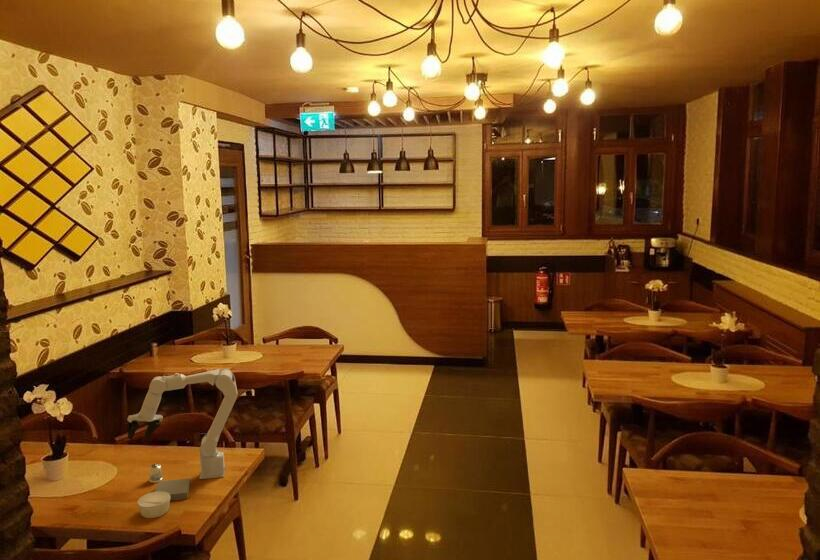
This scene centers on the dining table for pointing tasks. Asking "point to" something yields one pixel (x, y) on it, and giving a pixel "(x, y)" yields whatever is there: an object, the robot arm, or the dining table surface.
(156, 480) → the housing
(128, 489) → the dining table surface
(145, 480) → the dining table surface
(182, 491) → the stand
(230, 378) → the robot arm
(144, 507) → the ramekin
